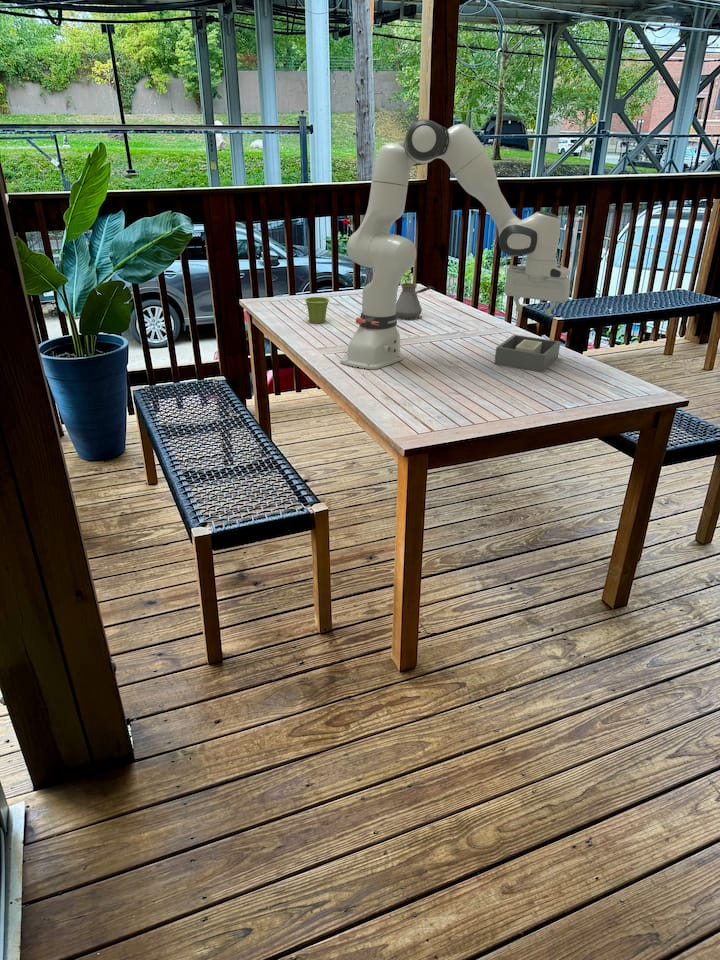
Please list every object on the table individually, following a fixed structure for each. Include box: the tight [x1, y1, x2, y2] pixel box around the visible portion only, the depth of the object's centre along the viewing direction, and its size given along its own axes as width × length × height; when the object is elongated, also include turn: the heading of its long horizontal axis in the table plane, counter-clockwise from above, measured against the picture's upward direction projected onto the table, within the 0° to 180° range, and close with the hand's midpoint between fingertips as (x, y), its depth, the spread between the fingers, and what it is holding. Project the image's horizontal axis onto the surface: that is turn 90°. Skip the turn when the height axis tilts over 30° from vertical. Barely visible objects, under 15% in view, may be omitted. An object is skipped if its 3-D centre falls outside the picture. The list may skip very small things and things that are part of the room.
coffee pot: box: [396, 282, 434, 320], centre depth 259 cm, size 21×12×15 cm, turn 31°
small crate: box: [515, 339, 542, 354], centre depth 215 cm, size 10×6×5 cm, turn 151°
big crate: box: [494, 334, 561, 373], centre depth 215 cm, size 18×16×6 cm
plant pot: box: [304, 296, 330, 324], centre depth 255 cm, size 9×9×9 cm
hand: (532, 313), depth 208 cm, fingers open, 8 cm apart
